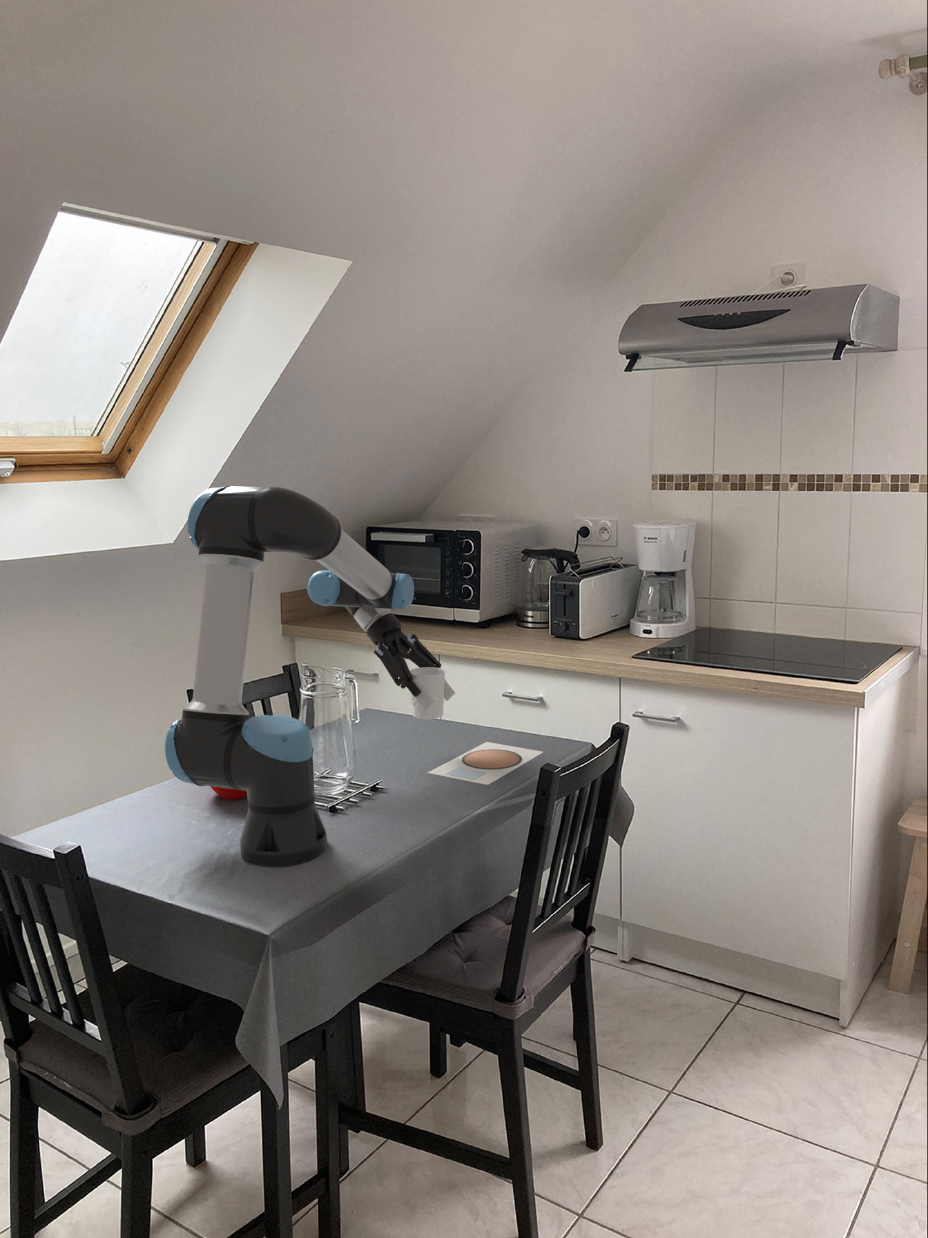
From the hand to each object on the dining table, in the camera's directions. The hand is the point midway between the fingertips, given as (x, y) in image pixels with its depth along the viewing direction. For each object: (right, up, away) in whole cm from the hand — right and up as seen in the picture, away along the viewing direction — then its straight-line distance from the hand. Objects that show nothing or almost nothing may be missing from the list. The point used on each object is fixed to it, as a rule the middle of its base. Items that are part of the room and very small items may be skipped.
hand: (440, 701), depth 222 cm
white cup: (-3, -3, +2) cm, 5 cm away
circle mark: (+11, -13, +1) cm, 17 cm away
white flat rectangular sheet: (+10, -14, 0) cm, 17 cm away
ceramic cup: (-40, -18, -13) cm, 46 cm away
